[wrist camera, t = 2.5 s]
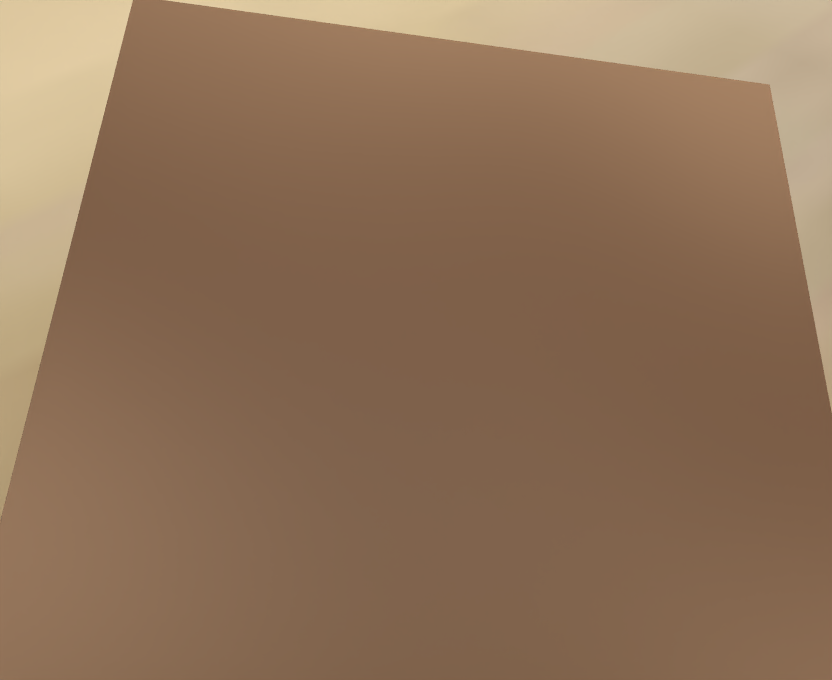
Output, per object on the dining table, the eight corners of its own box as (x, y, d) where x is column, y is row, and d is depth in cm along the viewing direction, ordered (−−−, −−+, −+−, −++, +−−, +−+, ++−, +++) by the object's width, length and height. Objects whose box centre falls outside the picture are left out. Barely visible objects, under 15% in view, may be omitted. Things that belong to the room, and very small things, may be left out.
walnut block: (456, 723, 16) (905, 792, 4) (204, 713, 16) (-60, 758, 4) (460, 480, 18) (770, 84, 6) (238, 464, 18) (134, -4, 6)
